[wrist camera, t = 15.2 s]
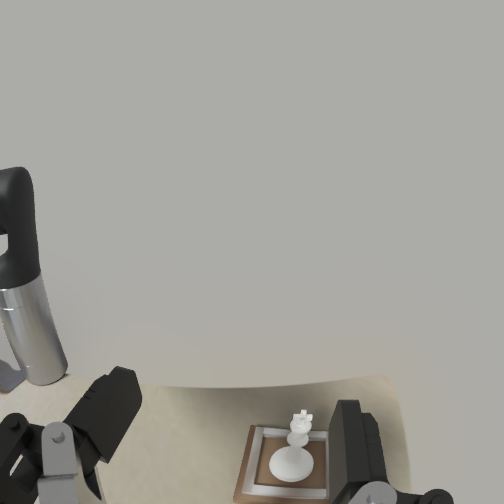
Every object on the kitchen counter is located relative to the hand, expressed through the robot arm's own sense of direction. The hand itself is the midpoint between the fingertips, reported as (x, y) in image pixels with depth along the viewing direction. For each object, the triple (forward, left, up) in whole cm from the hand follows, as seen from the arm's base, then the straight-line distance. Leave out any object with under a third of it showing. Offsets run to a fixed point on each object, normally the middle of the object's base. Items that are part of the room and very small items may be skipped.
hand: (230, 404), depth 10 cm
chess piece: (+4, +10, -22) cm, 24 cm away
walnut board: (+4, +10, -23) cm, 26 cm away
